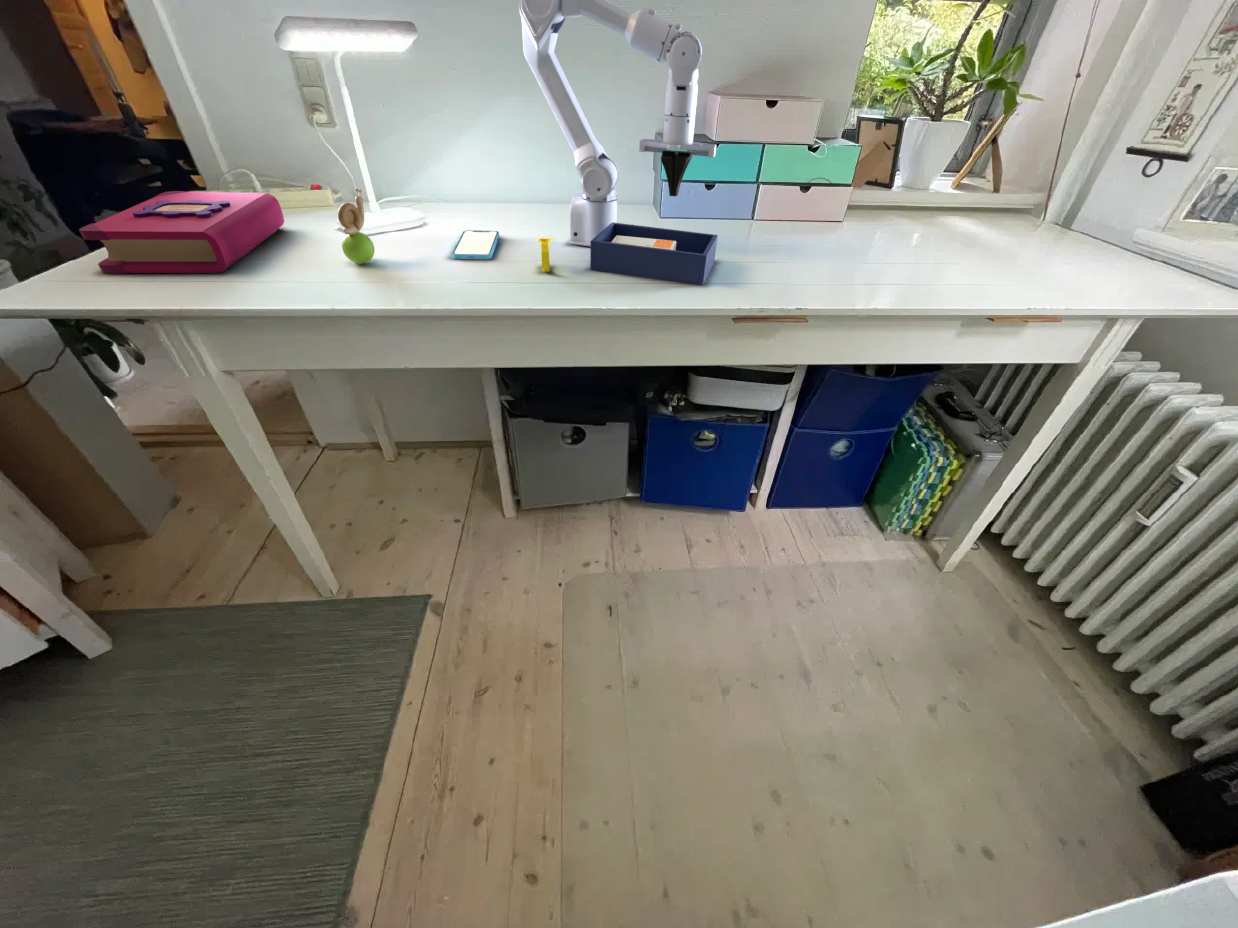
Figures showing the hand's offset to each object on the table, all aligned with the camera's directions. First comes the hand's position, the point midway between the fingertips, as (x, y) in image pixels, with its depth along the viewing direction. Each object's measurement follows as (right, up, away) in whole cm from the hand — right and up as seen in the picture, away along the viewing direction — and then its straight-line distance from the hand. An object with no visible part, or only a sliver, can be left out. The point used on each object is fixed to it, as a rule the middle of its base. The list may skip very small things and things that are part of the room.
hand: (673, 195), depth 110 cm
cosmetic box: (0, -14, -5) cm, 15 cm away
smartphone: (-40, -10, +3) cm, 41 cm away
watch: (-25, -17, -6) cm, 31 cm away
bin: (-4, -15, -3) cm, 16 cm away
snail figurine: (-59, -16, -6) cm, 61 cm away
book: (-91, -12, -4) cm, 92 cm away
